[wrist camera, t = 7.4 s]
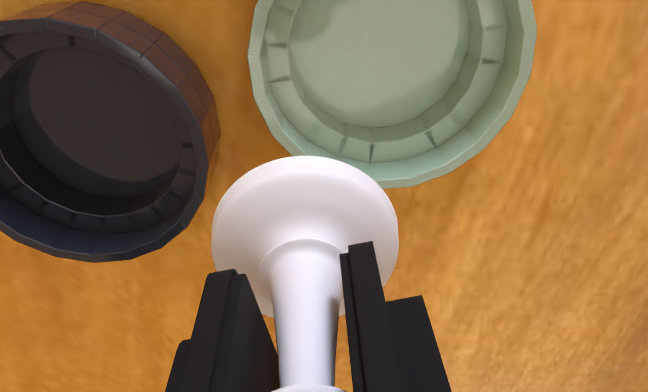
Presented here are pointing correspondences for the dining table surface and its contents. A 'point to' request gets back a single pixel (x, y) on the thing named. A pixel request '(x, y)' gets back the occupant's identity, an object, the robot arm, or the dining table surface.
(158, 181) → the dark bowl
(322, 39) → the green bowl
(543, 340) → the dining table surface
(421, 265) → the dining table surface
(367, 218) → the chess piece
